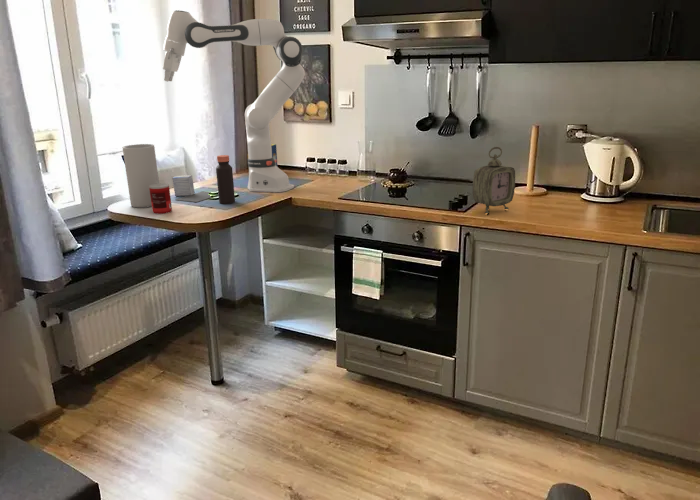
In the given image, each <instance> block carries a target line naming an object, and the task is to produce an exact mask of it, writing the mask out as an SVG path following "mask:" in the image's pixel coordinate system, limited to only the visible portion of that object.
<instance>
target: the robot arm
mask: <svg viewBox="0 0 700 500" xmlns="http://www.w3.org/2000/svg"><path fill="white" fill-rule="evenodd" d="M284 28H285V27H284V25H283V24H282V22H281V21H280V20H277V19H273V18H272V19H270V18H255V19H247V20H244V21H241V22H240V21H239V22H238V23H235V24H229V25H208V24H205V23H202V22H199V21H198V20H197V19H196V18H194V16H192V14H191V13H190V12H189V11H184V10H180V9H179V10H173V11H172V12H171V13H170V16H169V19H168V23H167V27H166V31H167V33H166V36H165V39H164V43H163V48H162V50H163V51H165V54H164V59H163V64H162V69H163V70H164V78H163V79H164V80H163V81H164V82H173V78H174V76H175V72H178V70H179V67H180V64H181V62H182V61H181V60H182V57H184V56H185V52H186V47H187V44H188V45H190V46H191V47H193V48H196V49H203V48H205V47H207V46H208V45H209V44H211V43H219V42H221V43H222V42H235V43H239V44H242V45H245V46H253V47H257V46H272V48H273V50H274V52H275V55H276V57H277V58H278V59H279V61H281V62H282V66H281V68H280V69H279V71H278V72H277V73H276V74H275V75H274V77H273V78H272V79H271V80H270V81H269V82H268V84H267V85H266V86H265V87H264V89H263V90H262V91H261V93H260V94H259V95H258V97H257V98H255V100H254V102H253V103H250V104H249V105H248V106H247V107H246V108H245V111H244V120H245V121H244V123H245V132H246V143H247V147H248V155H247V167H249V168H248V183H247V187H246V188H247V189H248V190H249V192H259V193H260V192H262V193H263V192H265V193H283V192H286V191H289V190H292V189H294V188H295V185H294V184H291V183H290V180H289V176H288V174H287V173H285V171H283V170H282V169H280V168H279V167H278V165H277V166H276V164H275V162H277V163H278V159H277V160H274V159H273V157H272V148H271V144H272V138H271V130H270V123H271V122H272V121H273V119H274V118H275V117H276V115H277V114H278V113H279V111H280V110H281V108H283V106H284V104H286V102H287V101H288V100H289V99H290V98H291V96H292V95H293V94H294V93H295V92H296V90H297V89H298V88H299V87H300V85H301V83H302V82H303V80H304V78H305V75H306V71H305V69H304V67H303V66H302V64H301V62H302V57H303V45H302V42H300V39H298V38H296V37H294V36H287V35H286V33H285V29H284Z"/></svg>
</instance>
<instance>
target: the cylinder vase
mask: <svg viewBox="0 0 700 500" xmlns="http://www.w3.org/2000/svg"><path fill="white" fill-rule="evenodd" d="M155 148H156V147H155V144H151V143H140V144H138V143H137V144H136V143H135V144H129V145H124V146H122V153H123V159H124V166H125V172H126V173H125V174H126V180H127V181H126V182H127V187H128V194H129V201H130V202H129V203H130V206H132V207H133V208H136V209H137V208H138V209H139V208H140V209H144V208H146V209H147V208H152V204H151V197H150V189H149V186H150V185H152V184H159V183H160V179H159V172H158V164H157V157H156V149H155Z"/></svg>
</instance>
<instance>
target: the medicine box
mask: <svg viewBox="0 0 700 500" xmlns="http://www.w3.org/2000/svg"><path fill="white" fill-rule="evenodd" d="M193 180H194V178H193V175H191V174H190V175H189V174H188V175H175V176H173V177H172V178H171V181H172V184H173V185H172V186H173V191H174V196H175V197H185V196H189V195H193V194H195V186H194V181H193Z"/></svg>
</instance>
